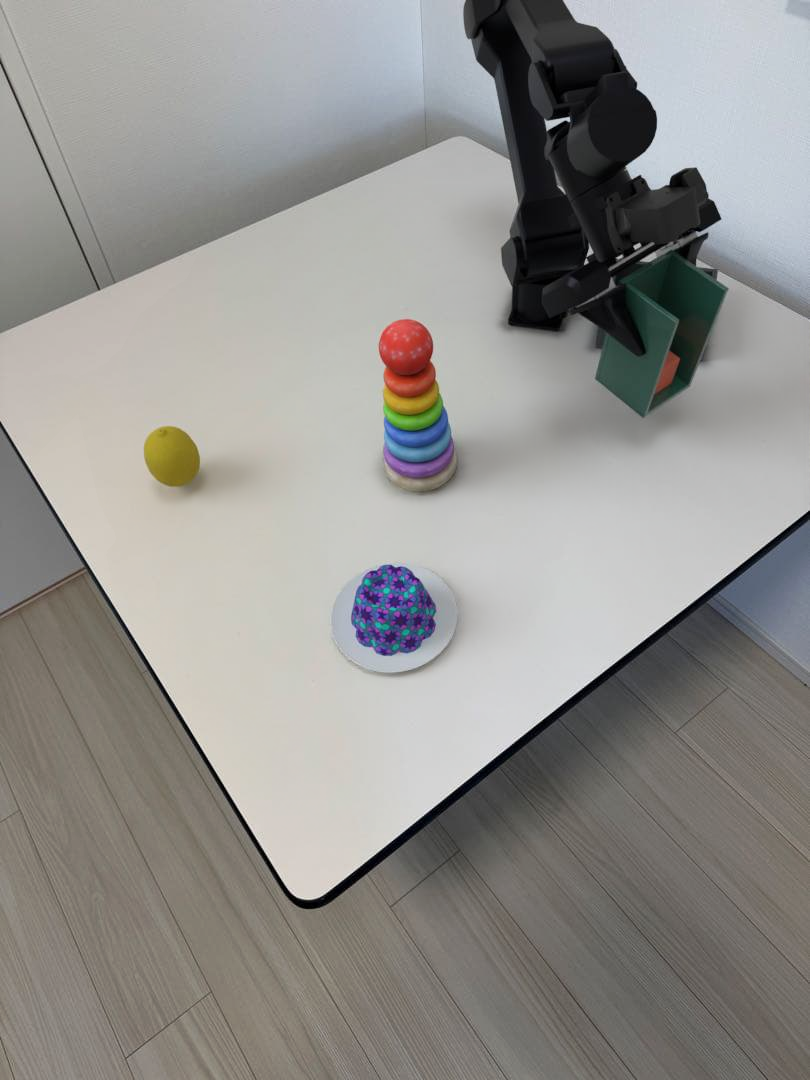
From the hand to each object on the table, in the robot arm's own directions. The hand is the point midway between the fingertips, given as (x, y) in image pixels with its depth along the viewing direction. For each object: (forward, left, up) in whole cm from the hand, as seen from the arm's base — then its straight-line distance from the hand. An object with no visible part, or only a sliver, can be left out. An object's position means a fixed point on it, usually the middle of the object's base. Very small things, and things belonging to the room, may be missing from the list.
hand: (668, 337), depth 79 cm
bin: (-2, +18, -12) cm, 22 cm away
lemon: (-48, -19, -13) cm, 53 cm away
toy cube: (-1, +1, -7) cm, 7 cm away
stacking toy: (-23, -11, -13) cm, 28 cm away
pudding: (-20, -30, -13) cm, 38 cm away
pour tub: (-2, +1, -7) cm, 7 cm away
